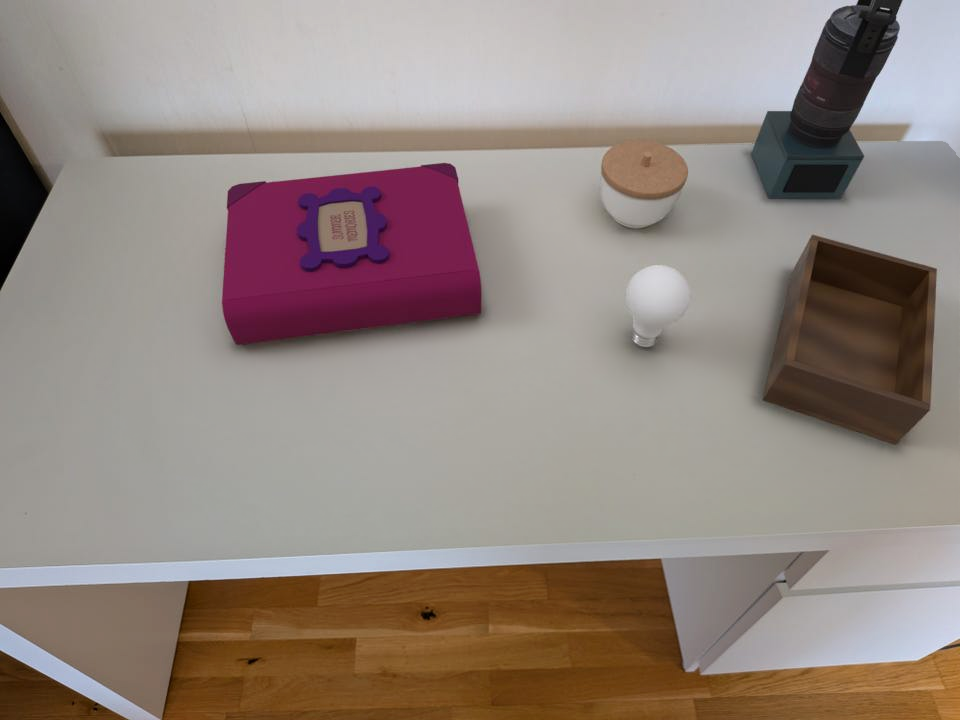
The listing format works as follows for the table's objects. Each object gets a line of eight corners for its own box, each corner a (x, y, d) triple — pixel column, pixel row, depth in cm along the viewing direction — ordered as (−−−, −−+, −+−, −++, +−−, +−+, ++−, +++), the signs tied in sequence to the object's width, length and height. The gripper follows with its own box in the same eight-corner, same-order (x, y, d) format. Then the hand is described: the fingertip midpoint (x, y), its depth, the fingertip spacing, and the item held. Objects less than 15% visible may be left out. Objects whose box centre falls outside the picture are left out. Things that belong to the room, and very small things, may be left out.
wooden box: (791, 273, 84) (812, 234, 79) (907, 307, 81) (937, 268, 76) (762, 400, 73) (784, 363, 68) (896, 444, 70) (930, 410, 65)
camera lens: (770, 131, 90) (815, 18, 78) (804, 108, 94) (852, -3, 82) (824, 159, 87) (880, 46, 75) (857, 134, 90) (916, 22, 78)
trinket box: (577, 205, 92) (586, 146, 84) (637, 177, 95) (651, 118, 88) (629, 252, 87) (644, 193, 79) (690, 221, 90) (710, 162, 83)
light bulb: (602, 341, 78) (618, 274, 69) (637, 310, 81) (657, 242, 72) (648, 375, 75) (671, 309, 66) (683, 342, 78) (710, 274, 69)
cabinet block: (819, 153, 99) (839, 110, 93) (841, 199, 93) (865, 156, 87) (750, 153, 99) (767, 110, 93) (769, 199, 93) (787, 156, 87)
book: (482, 321, 80) (483, 276, 73) (237, 353, 76) (217, 309, 70) (455, 204, 92) (453, 157, 86) (243, 227, 89) (226, 180, 83)
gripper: (918, -213, 72) (835, -6, 89) (905, -134, 58) (810, 93, 75) (997, -205, 70) (897, 5, 87) (1002, -122, 56) (882, 108, 73)
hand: (856, 46), depth 81 cm, fingers open, 13 cm apart
